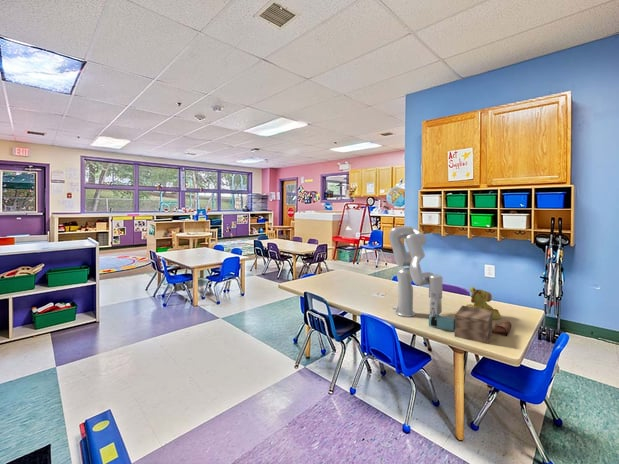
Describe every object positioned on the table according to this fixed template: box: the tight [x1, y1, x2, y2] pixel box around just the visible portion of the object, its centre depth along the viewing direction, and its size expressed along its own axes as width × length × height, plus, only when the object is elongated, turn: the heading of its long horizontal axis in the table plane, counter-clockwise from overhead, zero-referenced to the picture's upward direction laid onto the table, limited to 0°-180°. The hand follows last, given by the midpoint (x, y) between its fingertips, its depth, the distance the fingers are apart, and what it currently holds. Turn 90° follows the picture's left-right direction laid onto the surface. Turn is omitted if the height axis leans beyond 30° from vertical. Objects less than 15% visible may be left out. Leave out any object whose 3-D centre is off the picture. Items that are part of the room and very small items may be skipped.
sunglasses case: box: [491, 320, 512, 337], centre depth 177 cm, size 18×7×7 cm
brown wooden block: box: [454, 305, 494, 345], centre depth 172 cm, size 16×20×12 cm
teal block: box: [428, 314, 455, 332], centre depth 182 cm, size 14×5×6 cm, turn 53°
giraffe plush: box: [465, 286, 501, 320], centre depth 200 cm, size 20×24×19 cm
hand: (435, 324), depth 185 cm, fingers closed on teal block, 5 cm apart
